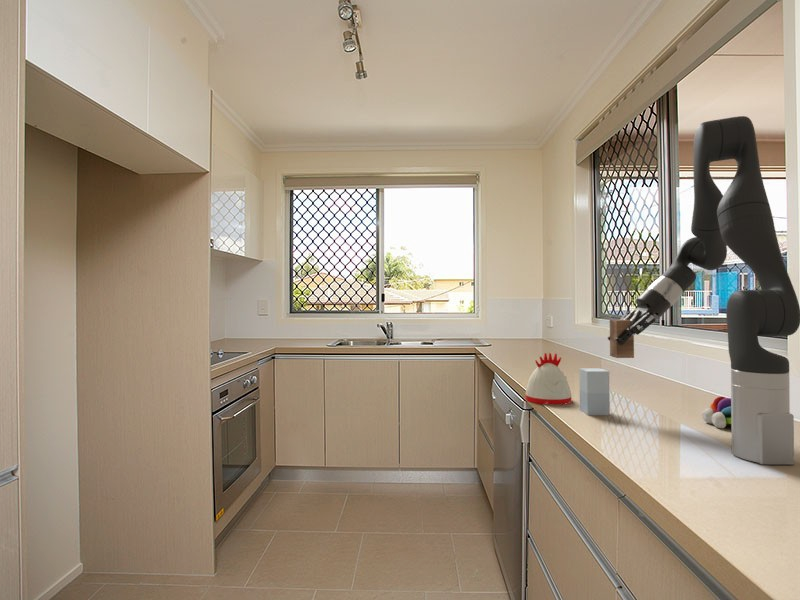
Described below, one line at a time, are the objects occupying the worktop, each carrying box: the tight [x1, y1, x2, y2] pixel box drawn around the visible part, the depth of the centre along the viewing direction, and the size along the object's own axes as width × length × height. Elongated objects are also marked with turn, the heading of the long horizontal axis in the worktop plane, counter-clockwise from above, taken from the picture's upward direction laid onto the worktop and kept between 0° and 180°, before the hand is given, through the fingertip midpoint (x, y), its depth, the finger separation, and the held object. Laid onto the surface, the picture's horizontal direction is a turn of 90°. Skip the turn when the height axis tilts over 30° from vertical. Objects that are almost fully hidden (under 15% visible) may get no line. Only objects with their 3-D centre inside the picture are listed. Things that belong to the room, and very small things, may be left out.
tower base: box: [579, 389, 611, 416], centre depth 131 cm, size 6×6×6 cm
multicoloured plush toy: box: [701, 396, 731, 429], centre depth 117 cm, size 8×10×7 cm
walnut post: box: [609, 319, 635, 359], centre depth 127 cm, size 4×4×10 cm
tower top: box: [578, 367, 610, 393], centre depth 132 cm, size 6×6×6 cm
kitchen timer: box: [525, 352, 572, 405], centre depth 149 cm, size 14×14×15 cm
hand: (614, 341), depth 127 cm, fingers closed on walnut post, 4 cm apart
